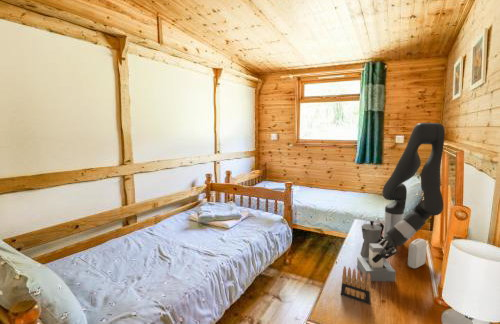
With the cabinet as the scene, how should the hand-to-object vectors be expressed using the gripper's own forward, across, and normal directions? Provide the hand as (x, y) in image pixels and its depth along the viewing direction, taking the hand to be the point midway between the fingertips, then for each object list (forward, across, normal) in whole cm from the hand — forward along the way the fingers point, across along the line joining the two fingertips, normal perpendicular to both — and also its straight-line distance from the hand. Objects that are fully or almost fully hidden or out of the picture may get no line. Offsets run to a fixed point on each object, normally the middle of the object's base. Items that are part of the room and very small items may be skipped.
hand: (371, 258), depth 124 cm
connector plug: (+2, 0, +4) cm, 4 cm away
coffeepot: (0, -18, +10) cm, 21 cm away
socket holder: (+4, 0, +6) cm, 8 cm away
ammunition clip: (+14, +18, -3) cm, 23 cm away
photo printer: (-12, -9, +22) cm, 27 cm away
